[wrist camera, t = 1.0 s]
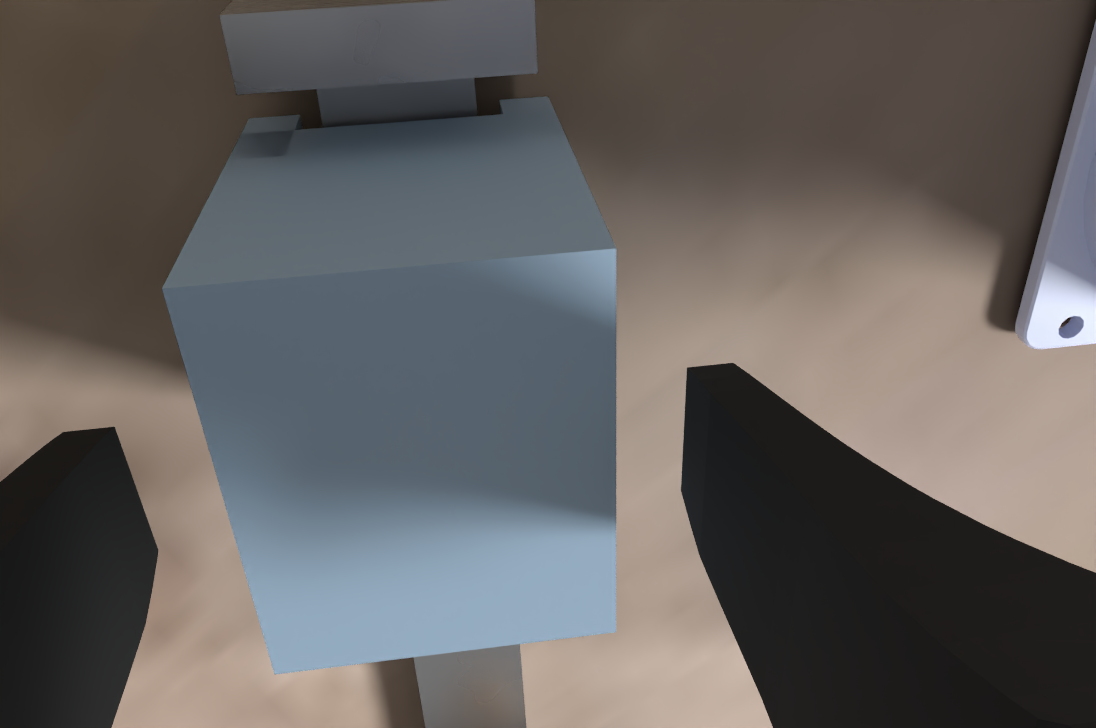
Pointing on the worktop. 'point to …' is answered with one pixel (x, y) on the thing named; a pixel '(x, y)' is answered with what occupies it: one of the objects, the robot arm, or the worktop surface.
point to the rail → (386, 97)
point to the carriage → (408, 383)
